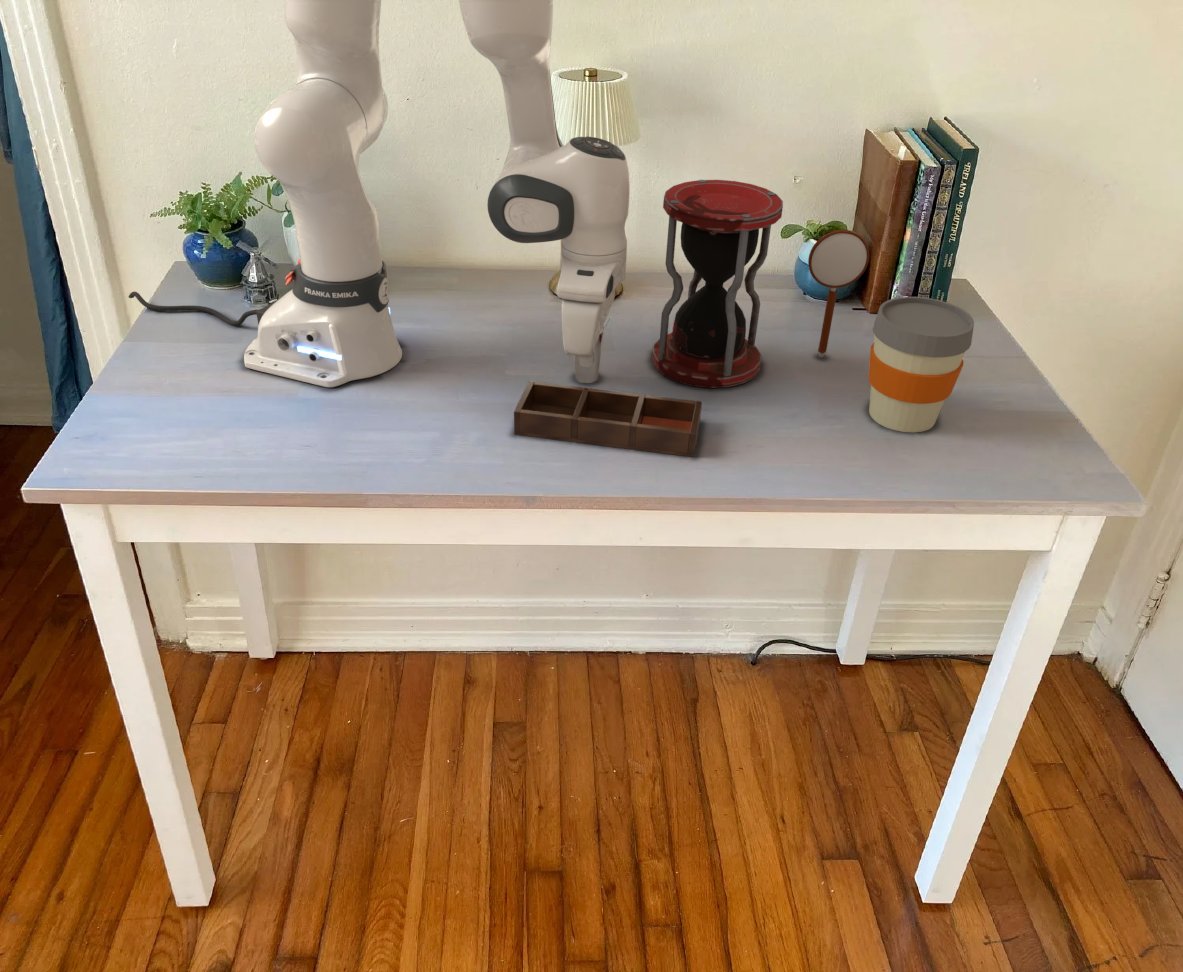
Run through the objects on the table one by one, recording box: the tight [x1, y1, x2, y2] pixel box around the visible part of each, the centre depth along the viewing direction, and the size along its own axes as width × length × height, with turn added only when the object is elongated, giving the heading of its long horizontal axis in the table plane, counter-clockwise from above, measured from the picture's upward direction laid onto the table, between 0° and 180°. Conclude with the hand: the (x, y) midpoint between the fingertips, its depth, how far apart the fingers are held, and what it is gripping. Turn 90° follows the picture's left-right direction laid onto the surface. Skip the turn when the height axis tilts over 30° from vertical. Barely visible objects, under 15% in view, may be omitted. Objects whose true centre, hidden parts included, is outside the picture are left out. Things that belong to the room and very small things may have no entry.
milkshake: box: [573, 317, 611, 385], centre depth 141 cm, size 4×5×10 cm
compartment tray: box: [513, 380, 703, 458], centre depth 132 cm, size 24×8×4 cm, turn 80°
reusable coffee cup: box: [867, 296, 975, 433], centre depth 134 cm, size 13×13×15 cm
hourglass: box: [651, 179, 784, 389], centre depth 142 cm, size 16×16×25 cm
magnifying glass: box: [807, 229, 870, 358], centre depth 146 cm, size 9×2×20 cm, turn 91°
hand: (590, 356), depth 142 cm, fingers closed on milkshake, 4 cm apart
